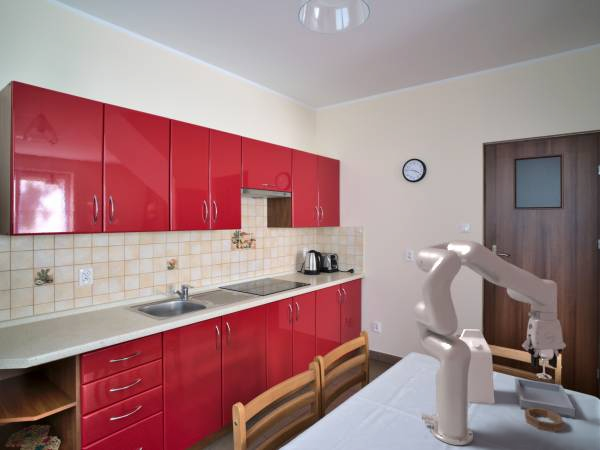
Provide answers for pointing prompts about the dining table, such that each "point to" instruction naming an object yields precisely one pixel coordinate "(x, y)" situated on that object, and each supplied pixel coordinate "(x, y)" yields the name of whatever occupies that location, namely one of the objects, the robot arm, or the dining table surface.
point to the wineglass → (544, 356)
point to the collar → (543, 425)
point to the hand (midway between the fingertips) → (543, 366)
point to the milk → (479, 368)
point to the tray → (544, 397)
